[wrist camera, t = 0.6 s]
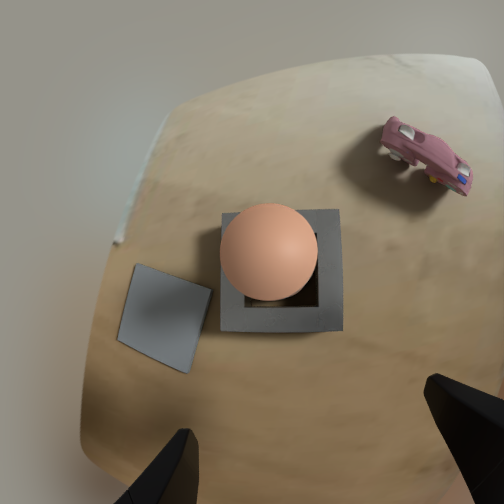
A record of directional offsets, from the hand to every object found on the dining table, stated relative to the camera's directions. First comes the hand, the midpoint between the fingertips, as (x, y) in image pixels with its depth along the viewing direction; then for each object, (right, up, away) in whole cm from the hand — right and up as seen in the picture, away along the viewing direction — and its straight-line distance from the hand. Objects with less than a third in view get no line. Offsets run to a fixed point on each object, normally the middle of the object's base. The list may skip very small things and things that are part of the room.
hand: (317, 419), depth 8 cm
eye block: (0, +4, +15) cm, 15 cm away
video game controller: (+14, +14, +14) cm, 25 cm away
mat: (-11, 0, +16) cm, 19 cm away
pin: (0, +4, +15) cm, 15 cm away
